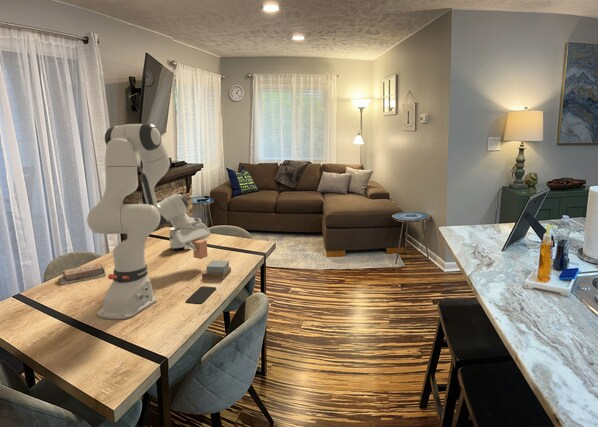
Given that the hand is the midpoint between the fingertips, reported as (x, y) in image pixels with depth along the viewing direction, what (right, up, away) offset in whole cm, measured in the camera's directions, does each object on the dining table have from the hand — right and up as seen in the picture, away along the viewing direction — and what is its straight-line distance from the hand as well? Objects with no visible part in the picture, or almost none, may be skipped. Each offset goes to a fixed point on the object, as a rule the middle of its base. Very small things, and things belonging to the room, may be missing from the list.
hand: (201, 248), depth 191 cm
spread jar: (-19, -3, +32) cm, 37 cm away
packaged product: (-53, -13, -6) cm, 55 cm away
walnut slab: (+9, -12, -7) cm, 17 cm away
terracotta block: (0, -4, +1) cm, 4 cm away
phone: (+7, -17, -27) cm, 33 cm away
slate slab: (+10, -9, -7) cm, 15 cm away
